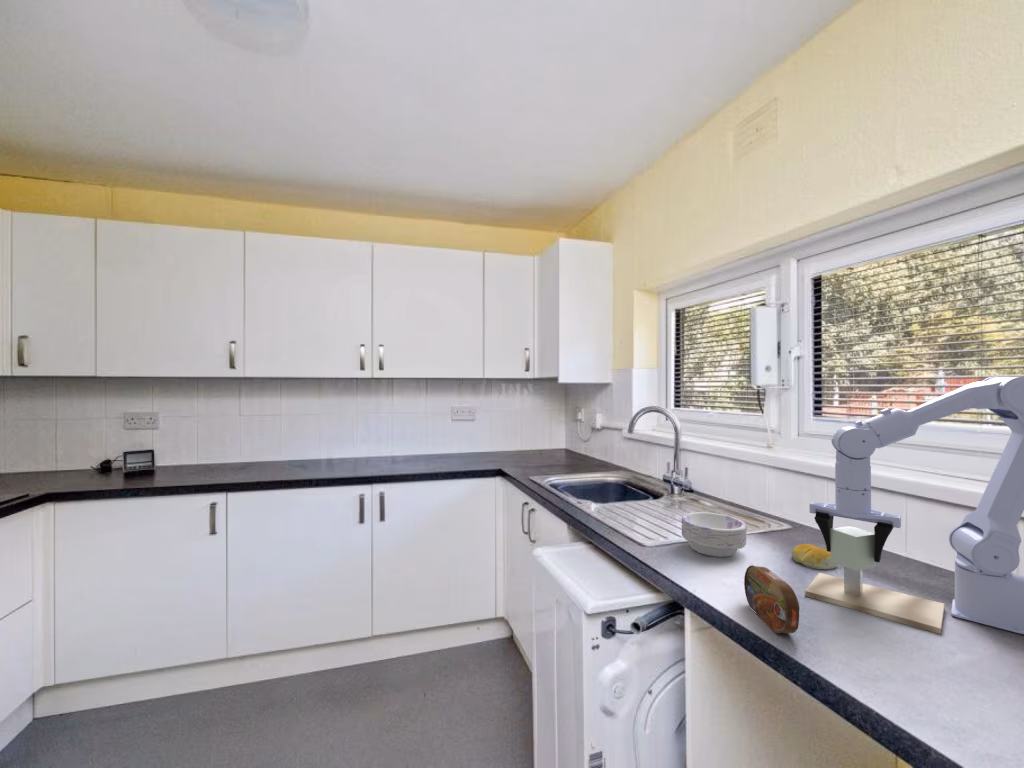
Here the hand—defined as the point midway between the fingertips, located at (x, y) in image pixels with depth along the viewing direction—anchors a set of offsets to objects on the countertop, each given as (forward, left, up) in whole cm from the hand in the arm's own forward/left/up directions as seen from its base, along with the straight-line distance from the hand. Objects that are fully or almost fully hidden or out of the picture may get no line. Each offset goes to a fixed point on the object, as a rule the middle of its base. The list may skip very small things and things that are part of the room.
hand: (853, 555), depth 91 cm
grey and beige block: (0, 0, -8) cm, 8 cm away
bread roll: (+10, -15, -9) cm, 20 cm away
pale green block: (0, 0, -2) cm, 2 cm away
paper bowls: (+30, -6, -9) cm, 32 cm away
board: (-3, 0, -8) cm, 9 cm away
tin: (+9, +21, -9) cm, 24 cm away
